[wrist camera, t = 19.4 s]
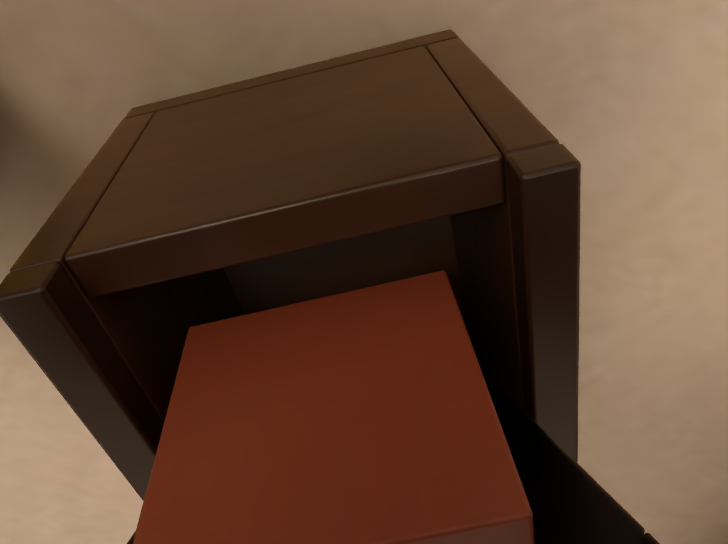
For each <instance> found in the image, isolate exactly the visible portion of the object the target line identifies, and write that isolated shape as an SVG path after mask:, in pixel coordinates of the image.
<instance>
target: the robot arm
mask: <svg viewBox="0 0 728 544" xmlns="http://www.w3.org/2000/svg"><path fill="white" fill-rule="evenodd" d="M485 382H486V385H487V388H488V391H489V393H490V396H491V399H492V402H493V405H494V407H495V410H496V413H497V416H498V419H499V421H500V424H501V427H502V430H503V433H504V435H505V438H506V441H507V444H508V447H509V449H510V452H511V455H512V458H513V460H514V463H515V466H516V469H517V472H518V474H519V477H520V480H521V483H522V486H523V488H524V491H525V494H526V497H527V500H528V502H529V505H530V508H531V511H532V515H533V529H534V542H535V544H660V543H659V542H658V541H657V540H656V539H655V538H654V537H653V536H652V535H651V534H649V533H645V534H644V532H645V530H644V528H643V527H642V526H641V525H640V524H639V523H638V522H637V521H636V520H635V519H634V518H633V517H632V516H631V515H630V514H629V513H628V512H627V511H626V510H625V509H624V508H623V507H622V506H621V505H620V504H619V503H617V502H616V501H615V500H614V499H613V498H612V497H611V496H610V495H609V494H608V493H607V492H606V491H605V490H604V489H603V488H602V487H601V486H600V485H599V484H598V483H597V482H596V481H595V480H594V479H593V478H592V477H591V476H590V475H589V474H588V473H587V472H586V471H585V470H584V469H583V468H582V467H581V466H580V465H579V464H578V463H577V462H576V461H575V460H574V459H573V458H572V457H570V456H569V455H568V454H567V453H566V452H565V451H564V450H563V449H562V448H561V447H560V446H559V445H558V444H557V443H556V442H555V441H554V440H553V439H552V438H551V437H550V436H549V435H548V434H547V433H546V432H545V431H544V430H543V429H542V428H541V427H540V426H539V425H538V424H537V423H536V422H535V421H534V420H533V419H532V418H531V417H530V416H529V415H528V414H527V413H526V412H524V411H523V410H522V409H521V408H520V407H519V406H518V405H517V404H516V403H515V402H514V401H513V400H512V399H511V398H510V397H509V396H508V395H507V394H506V393H505V392H504V391H503V390H502V389H501V388H500V387H499V386H498V385H497V384H496V383H494V382H493V381H485ZM135 533H136V531H135ZM135 533H134V534H133V536H132V537H131V539H130V540H129V542H128V543H127V544H133V541H134V537H135Z"/></svg>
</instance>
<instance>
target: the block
mask: <svg viewBox="0 0 728 544" xmlns="http://www.w3.org/2000/svg"><path fill="white" fill-rule="evenodd" d="M133 544H535V542H534V529H533V515H532V511H531V508H530V505H529V502H528V500H527V497H526V494H525V491H524V488H523V486H522V483H521V480H520V477H519V474H518V472H517V469H516V466H515V463H514V460H513V458H512V455H511V452H510V449H509V447H508V444H507V441H506V438H505V435H504V433H503V430H502V427H501V424H500V421H499V419H498V416H497V413H496V410H495V407H494V405H493V402H492V399H491V396H490V393H489V391H488V388H487V385H486V382H485V379H484V377H483V374H482V371H481V368H480V365H479V363H478V360H477V357H476V354H475V352H474V349H473V346H472V343H471V340H470V338H469V335H468V332H467V329H466V326H465V324H464V321H463V318H462V315H461V312H460V310H459V307H458V304H457V301H456V298H455V296H454V293H453V290H452V287H451V284H450V282H449V279H448V276H447V273H446V272H445V271H444V270H441V271H437V272H432V273H428V274H423V275H419V276H415V277H410V278H406V279H401V280H397V281H392V282H388V283H383V284H379V285H375V286H370V287H366V288H361V289H357V290H352V291H348V292H343V293H339V294H334V295H330V296H326V297H321V298H317V299H312V300H308V301H303V302H299V303H294V304H290V305H286V306H281V307H277V308H272V309H268V310H263V311H259V312H254V313H250V314H245V315H241V316H237V317H232V318H228V319H223V320H219V321H214V322H210V323H205V324H201V325H197V326H192V327H190V328H189V329H188V333H187V337H186V341H185V345H184V349H183V352H182V356H181V360H180V364H179V368H178V372H177V375H176V379H175V383H174V387H173V391H172V395H171V399H170V402H169V406H168V410H167V414H166V418H165V422H164V425H163V429H162V433H161V437H160V441H159V445H158V449H157V452H156V456H155V460H154V464H153V468H152V472H151V475H150V479H149V483H148V487H147V491H146V495H145V498H144V502H143V506H142V510H141V514H140V518H139V522H138V525H137V529H136V533H135V537H134V541H133Z"/></svg>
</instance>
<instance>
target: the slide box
mask: <svg viewBox="0 0 728 544" xmlns="http://www.w3.org/2000/svg"><path fill="white" fill-rule="evenodd" d="M580 174H581V164H580V162H579V161H578V160H577V159H576V158H575V157H574V156H573V154H572V153H571V152H570V151H569V150H568V149H567V148H566V147H565V146H564V145H563V144H559V142H558V140H557V139H556V138H555V137H554V136H553V135H552V134H551V133H550V132H549V131H548V130H547V128H546V127H545V126H544V125H543V124H542V123H541V122H540V121H539V120H538V119H537V118H536V117H535V116H534V115H533V114H532V113H531V112H530V111H529V110H528V109H527V108H526V107H525V106H524V105H523V104H522V103H521V102H520V100H519V99H518V98H517V97H516V96H515V95H514V94H513V93H512V92H511V91H510V90H509V89H508V88H507V87H506V86H505V85H504V84H503V83H502V82H501V81H500V80H499V79H498V78H497V77H496V76H495V75H494V74H493V72H492V71H491V70H490V69H489V68H488V67H487V66H486V65H485V64H484V63H483V62H482V61H481V60H480V59H479V58H478V57H477V56H476V55H475V54H474V53H473V52H472V51H471V50H470V49H469V48H468V47H467V46H466V44H465V43H464V42H463V41H462V40H461V39H460V38H459V37H458V36H457V35H456V34H455V33H454V32H453V31H452V30H447V31H443V32H439V33H435V34H431V35H426V36H422V37H418V38H414V39H410V40H406V41H402V42H398V43H394V44H390V45H386V46H382V47H378V48H374V49H370V50H366V51H362V52H358V53H354V54H350V55H346V56H342V57H338V58H334V59H329V60H325V61H321V62H317V63H313V64H309V65H305V66H301V67H297V68H293V69H289V70H285V71H281V72H277V73H273V74H269V75H265V76H261V77H257V78H253V79H249V80H245V81H241V82H236V83H232V84H228V85H224V86H220V87H216V88H212V89H208V90H204V91H200V92H196V93H192V94H188V95H184V96H180V97H176V98H172V99H168V100H164V101H160V102H156V103H152V104H148V105H144V106H139V107H135V108H132V109H131V110H130V111H129V113H128V114H127V116H126V117H125V118H124V119H123V120H122V121H121V123H120V124H119V125H118V127H117V128H116V129H115V131H114V132H113V133H112V135H111V136H110V137H109V139H108V140H107V141H106V143H105V144H104V145H103V147H102V148H101V149H100V151H99V152H98V153H97V155H96V156H95V157H94V159H93V160H92V161H91V163H90V164H89V165H88V167H87V168H86V169H85V171H84V172H83V173H82V174H81V176H80V177H79V178H78V180H77V181H76V182H75V184H74V185H73V186H72V188H71V189H70V190H69V192H68V193H67V194H66V196H65V197H64V198H63V200H62V201H61V202H60V204H59V205H58V206H57V208H56V209H55V210H54V212H53V213H52V214H51V216H50V217H49V218H48V220H47V221H46V222H45V224H44V225H43V226H42V228H41V229H40V230H39V232H38V233H37V234H36V236H35V237H34V238H33V240H32V241H31V242H30V244H29V245H28V246H27V248H26V249H25V250H24V252H23V253H22V254H21V256H20V257H19V258H18V260H17V261H16V262H15V264H14V265H13V266H12V268H11V269H10V272H11V273H9V274H8V275H7V276H6V278H5V279H4V280H3V282H2V283H1V284H0V316H1V317H2V319H3V320H4V321H5V323H6V324H7V325H8V326H9V328H10V329H11V330H12V332H13V333H14V334H15V335H16V337H17V338H18V339H19V341H20V342H21V343H22V345H23V346H24V347H25V348H26V350H27V351H28V352H29V354H30V355H31V356H32V357H33V359H34V360H35V361H36V363H37V364H38V365H39V366H40V368H41V369H42V370H43V372H44V373H45V374H46V376H47V377H48V378H49V379H50V381H51V382H52V383H53V385H54V386H55V387H56V388H57V390H58V391H59V392H60V394H61V395H62V396H63V397H64V399H65V400H66V401H67V403H68V404H69V405H70V407H71V408H72V409H73V410H74V412H75V413H76V414H77V416H78V417H79V418H80V419H81V421H82V422H83V423H84V425H85V426H86V427H87V429H88V430H89V431H90V432H91V434H92V435H93V436H94V438H95V439H96V440H97V441H98V443H99V444H100V445H101V447H102V448H103V449H104V450H105V452H106V453H107V454H108V456H109V457H110V458H111V460H112V461H113V462H114V463H115V465H116V466H117V467H118V469H119V470H120V471H121V472H122V474H123V475H124V476H125V478H126V479H127V480H128V481H129V483H130V484H131V485H132V487H133V488H134V489H135V491H136V492H137V493H138V494H139V496H140V497H141V498H142V500H143V501H144V498H145V495H146V491H147V487H148V483H149V479H150V475H151V472H152V468H153V464H154V460H155V456H156V452H157V449H158V445H159V441H160V437H161V433H162V429H163V425H164V422H165V418H166V414H167V410H168V406H169V402H170V399H171V395H172V391H173V387H174V383H175V379H176V375H177V372H178V368H179V364H180V360H181V356H182V352H183V349H184V345H185V341H186V337H187V333H188V329H189V328H190V327H192V326H197V325H201V324H205V323H210V322H214V321H219V320H223V319H228V318H232V317H237V316H241V315H245V314H250V313H254V312H259V311H263V310H268V309H272V308H277V307H281V306H286V305H290V304H294V303H299V302H303V301H308V300H312V299H317V298H321V297H326V296H330V295H334V294H339V293H343V292H348V291H352V290H357V289H361V288H366V287H370V286H375V285H379V284H383V283H388V282H392V281H397V280H401V279H406V278H410V277H415V276H419V275H423V274H428V273H432V272H437V271H441V270H444V271H445V272H446V273H447V276H448V279H449V282H450V284H451V287H452V290H453V293H454V296H455V298H456V301H457V304H458V307H459V310H460V312H461V315H462V318H463V321H464V324H465V326H466V329H467V332H468V335H469V338H470V340H471V343H472V346H473V349H474V352H475V354H476V357H477V360H478V363H479V365H480V368H481V371H482V374H483V377H484V379H485V381H493V382H494V383H496V384H497V385H498V386H499V387H500V388H501V389H502V390H503V391H504V392H505V393H506V394H507V395H508V396H509V397H510V398H511V399H512V400H513V401H514V402H515V403H516V404H517V405H518V406H519V407H520V408H521V409H522V410H523V411H524V412H526V413H527V414H528V415H529V416H530V417H531V418H532V419H533V420H534V421H535V422H536V423H537V424H538V425H539V426H540V427H541V428H542V429H543V430H544V431H545V432H546V433H547V434H548V435H549V436H550V437H551V438H552V439H553V440H554V441H555V442H556V443H557V444H558V445H559V446H560V447H561V448H562V449H563V450H564V451H565V452H566V453H567V454H568V455H569V456H570V457H572V458H573V459H574V460H575V461H576V462H577V454H578V361H579V268H580Z"/></svg>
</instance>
